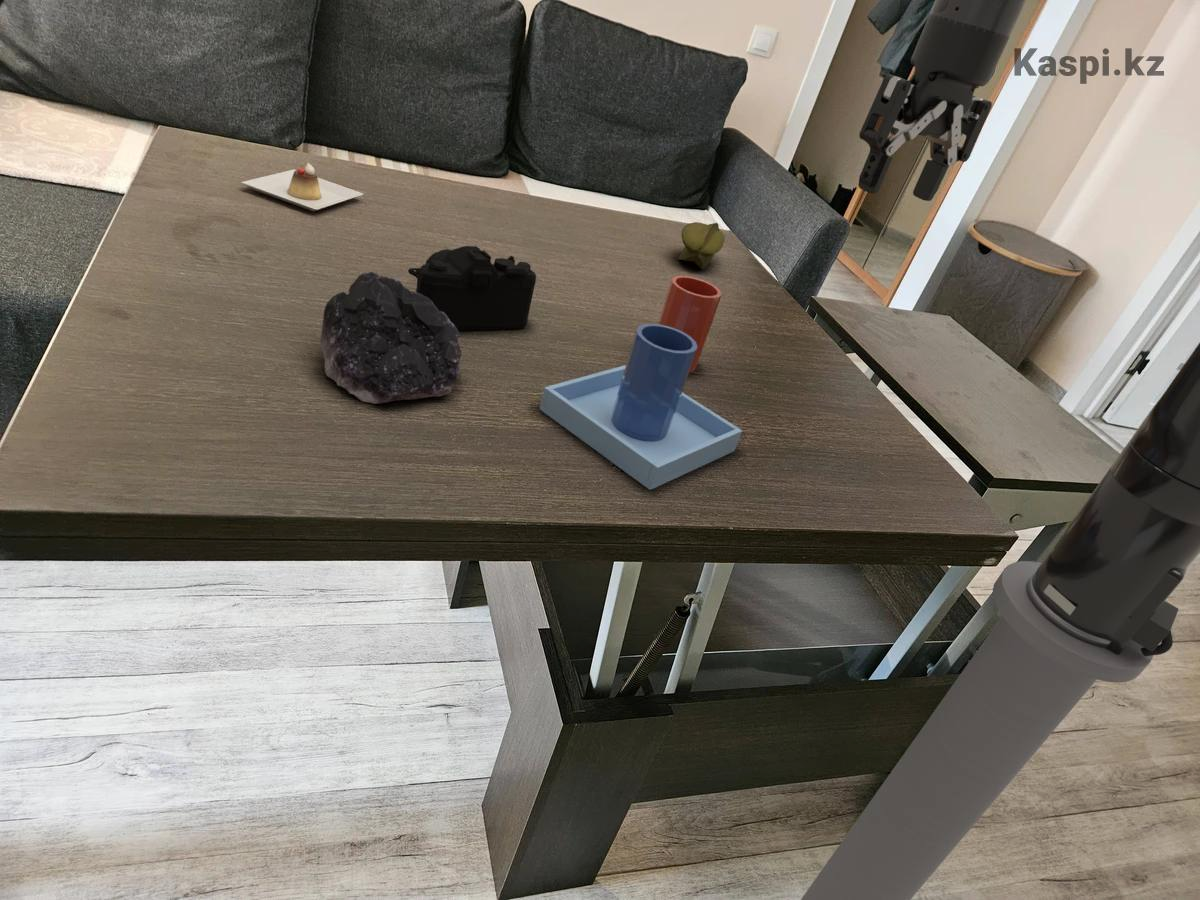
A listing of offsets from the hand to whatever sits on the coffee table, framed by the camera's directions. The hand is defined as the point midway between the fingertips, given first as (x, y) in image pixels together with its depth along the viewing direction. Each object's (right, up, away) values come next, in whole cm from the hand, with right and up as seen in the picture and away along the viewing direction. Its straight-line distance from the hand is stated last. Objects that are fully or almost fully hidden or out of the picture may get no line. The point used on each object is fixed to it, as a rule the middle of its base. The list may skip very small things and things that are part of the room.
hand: (894, 194), depth 82 cm
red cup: (-22, -15, +16) cm, 31 cm away
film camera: (-47, -10, +13) cm, 50 cm away
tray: (-26, -24, 0) cm, 36 cm away
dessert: (-73, +10, +33) cm, 81 cm away
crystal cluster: (-51, -19, -3) cm, 55 cm away
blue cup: (-26, -24, -1) cm, 36 cm away
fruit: (-14, +5, +53) cm, 55 cm away
